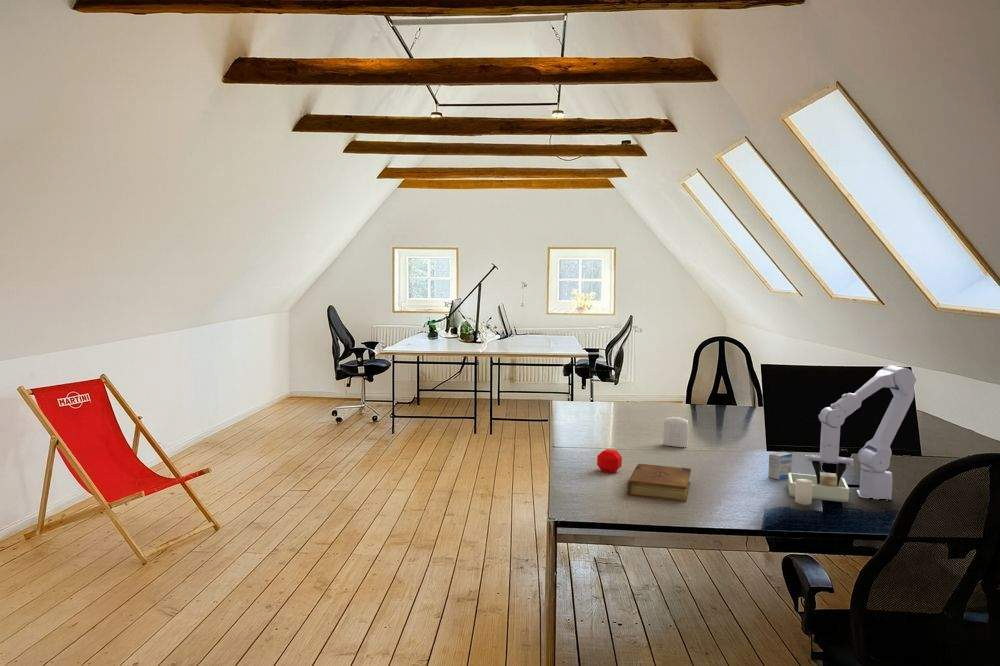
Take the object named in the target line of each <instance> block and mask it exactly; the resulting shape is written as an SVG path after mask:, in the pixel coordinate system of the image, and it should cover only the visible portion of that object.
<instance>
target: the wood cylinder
mask: <svg viewBox="0 0 1000 666" xmlns="http://www.w3.org/2000/svg"><path fill="white" fill-rule="evenodd" d="M812 488H813V481H811V480H808V479H796V489H795V497H794V503H796V504H799V505H805V506H808V505H812V502H813V499H812Z"/></svg>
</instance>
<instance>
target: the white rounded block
mask: <svg viewBox="0 0 1000 666" xmlns="http://www.w3.org/2000/svg"><path fill="white" fill-rule="evenodd" d="M689 425H690V424H689V420H687V419H685V418H682V417H679V416H670V417H665V419H664V422H663V436H662V437H663V438H662V444H663V446H668V447H669V446H670V447H677V448H683V447H684V448H685V447H687V448H688V445H689V430H690V429H689ZM684 448H683V449H684ZM685 449H686V448H685Z"/></svg>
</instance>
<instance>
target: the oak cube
mask: <svg viewBox="0 0 1000 666" xmlns="http://www.w3.org/2000/svg"><path fill="white" fill-rule="evenodd" d="M819 485H822V486H832V487H837V476H836V473H832V472H824V471H822V472H821V471H820V484H819Z"/></svg>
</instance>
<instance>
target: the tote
mask: <svg viewBox="0 0 1000 666" xmlns="http://www.w3.org/2000/svg"><path fill="white" fill-rule="evenodd" d="M796 479H808V480H811V481H813V488H812V500H819V501H831V502H840V503H849V500H850V498H849V496H850V487H849V486H848V484H847V482H846V479H845V478H844V477H841V479H840V481H839V485H838V486H837V487H832V486H822V485H819V484H817V477H816V474H805V473H798V472H797V473H796V472H791V473H788V478H787V489H788V494H789V495H788V496H789V497H792V498H793V497H794V498H795V489H796Z"/></svg>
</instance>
